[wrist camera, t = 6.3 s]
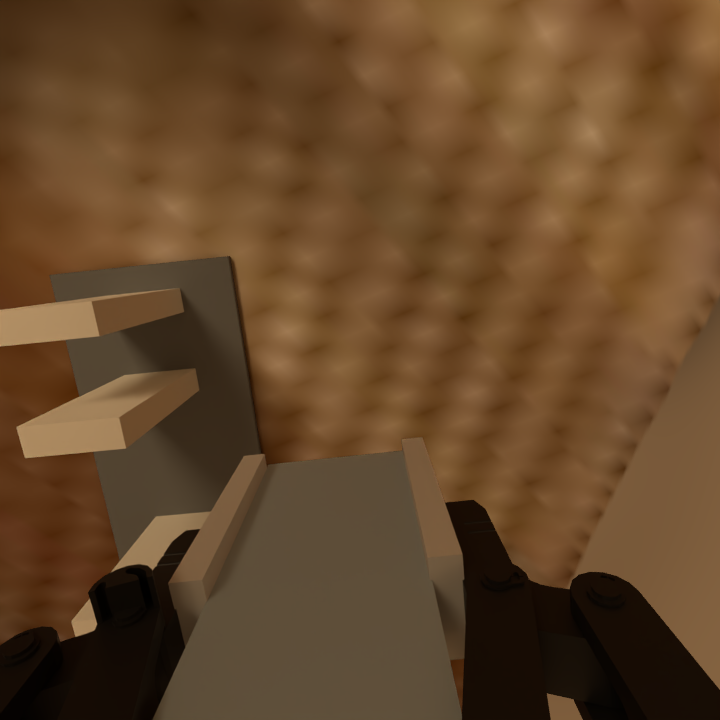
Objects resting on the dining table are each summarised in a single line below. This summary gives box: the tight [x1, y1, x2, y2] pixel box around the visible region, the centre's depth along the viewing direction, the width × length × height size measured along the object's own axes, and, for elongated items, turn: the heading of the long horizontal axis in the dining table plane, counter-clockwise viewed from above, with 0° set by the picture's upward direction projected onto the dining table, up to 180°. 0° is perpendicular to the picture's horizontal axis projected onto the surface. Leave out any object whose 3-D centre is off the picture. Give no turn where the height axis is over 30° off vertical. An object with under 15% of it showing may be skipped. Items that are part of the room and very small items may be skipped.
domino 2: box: [16, 368, 199, 458], centre depth 26 cm, size 2×5×10 cm, turn 96°
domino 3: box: [71, 512, 210, 637], centre depth 29 cm, size 2×5×10 cm, turn 96°
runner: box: [50, 256, 261, 560], centre depth 33 cm, size 30×12×1 cm, turn 6°
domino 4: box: [153, 451, 462, 720], centre depth 12 cm, size 2×5×10 cm, turn 96°
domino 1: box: [0, 288, 184, 346], centre depth 25 cm, size 2×5×10 cm, turn 95°
